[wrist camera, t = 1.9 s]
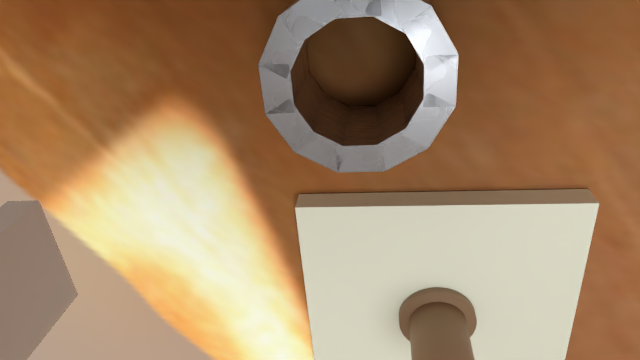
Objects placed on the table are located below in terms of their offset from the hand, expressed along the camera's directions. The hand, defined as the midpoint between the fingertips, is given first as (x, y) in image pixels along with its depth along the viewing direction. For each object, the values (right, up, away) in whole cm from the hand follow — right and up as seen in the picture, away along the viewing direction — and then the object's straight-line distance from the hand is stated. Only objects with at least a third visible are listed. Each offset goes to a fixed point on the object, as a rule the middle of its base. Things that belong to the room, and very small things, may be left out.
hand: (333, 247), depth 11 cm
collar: (+2, +8, +14) cm, 16 cm away
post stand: (+7, -6, +21) cm, 23 cm away
